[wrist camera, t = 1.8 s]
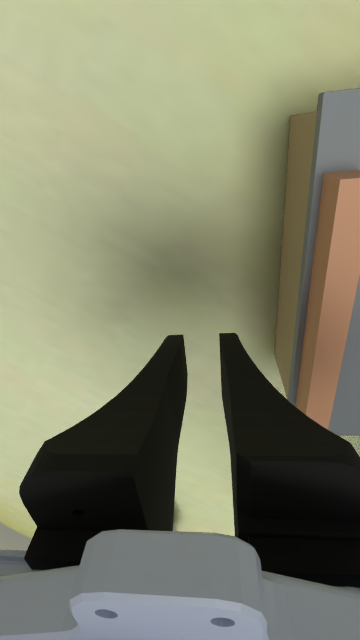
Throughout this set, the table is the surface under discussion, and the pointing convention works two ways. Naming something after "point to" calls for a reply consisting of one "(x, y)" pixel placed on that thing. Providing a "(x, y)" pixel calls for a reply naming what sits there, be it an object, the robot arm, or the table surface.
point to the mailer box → (293, 236)
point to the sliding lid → (331, 273)
